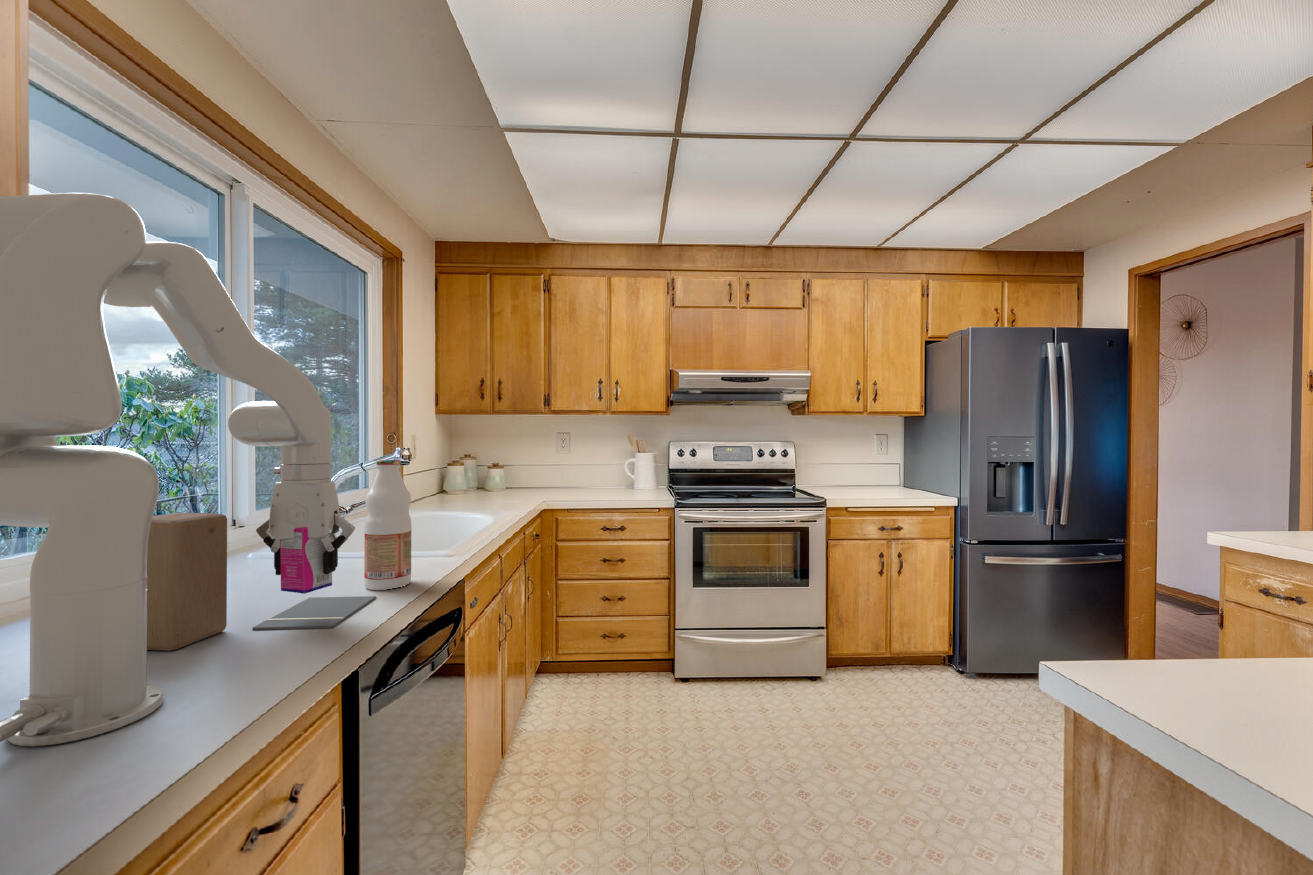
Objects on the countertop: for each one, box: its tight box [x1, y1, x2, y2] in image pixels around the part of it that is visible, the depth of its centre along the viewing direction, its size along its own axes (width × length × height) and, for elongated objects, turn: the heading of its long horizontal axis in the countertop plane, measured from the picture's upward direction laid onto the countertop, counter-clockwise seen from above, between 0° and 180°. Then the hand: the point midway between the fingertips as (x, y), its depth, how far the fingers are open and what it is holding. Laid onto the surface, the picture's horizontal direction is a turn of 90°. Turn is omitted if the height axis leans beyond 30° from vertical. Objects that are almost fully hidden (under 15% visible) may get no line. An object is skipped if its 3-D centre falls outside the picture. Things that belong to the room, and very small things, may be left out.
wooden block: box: [147, 512, 228, 652], centre depth 89 cm, size 10×10×20 cm
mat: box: [252, 595, 377, 631], centre depth 104 cm, size 18×13×1 cm
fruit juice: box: [363, 459, 413, 591], centre depth 123 cm, size 9×9×28 cm
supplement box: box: [280, 527, 333, 595], centre depth 99 cm, size 6×6×12 cm
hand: (306, 572), depth 99 cm, fingers closed on supplement box, 7 cm apart
